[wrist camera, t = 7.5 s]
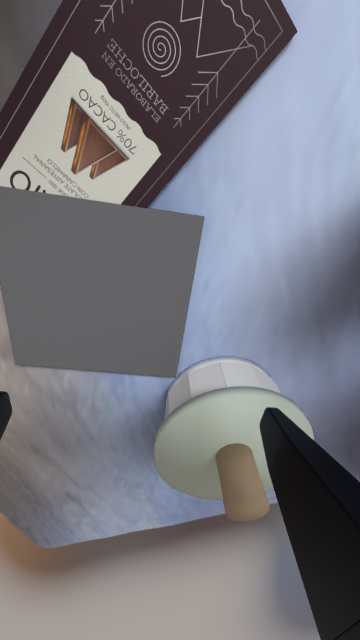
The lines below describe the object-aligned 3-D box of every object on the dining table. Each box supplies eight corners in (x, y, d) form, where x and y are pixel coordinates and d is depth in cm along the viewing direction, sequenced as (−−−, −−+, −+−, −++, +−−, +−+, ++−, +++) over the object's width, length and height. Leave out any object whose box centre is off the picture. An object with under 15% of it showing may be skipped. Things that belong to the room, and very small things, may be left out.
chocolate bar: (297, 31, 13) (90, 271, 19) (289, 40, 14) (94, 268, 20) (174, -200, 10) (-33, 171, 16) (173, -171, 11) (-23, 172, 16)
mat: (203, 216, 18) (204, 217, 17) (175, 373, 24) (175, 377, 24) (-12, 183, 16) (-18, 183, 16) (19, 360, 23) (15, 364, 22)
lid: (333, 393, 20) (382, 454, 15) (278, 490, 26) (302, 554, 21) (164, 379, 18) (163, 442, 14) (147, 486, 24) (143, 553, 20)
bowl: (289, 362, 24) (316, 401, 20) (256, 439, 29) (272, 484, 25) (173, 351, 23) (175, 390, 19) (160, 433, 28) (159, 479, 24)
